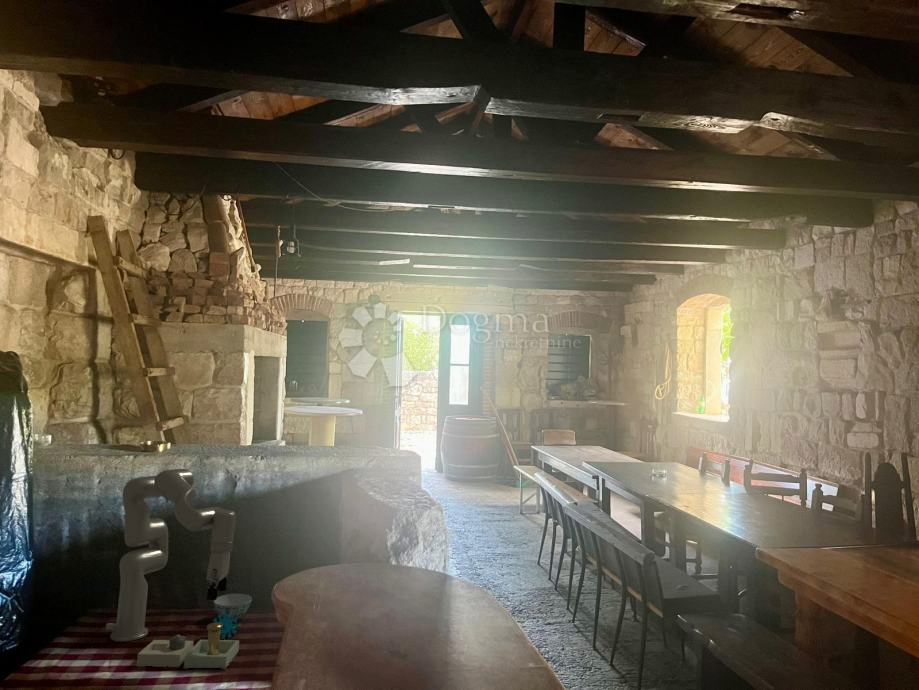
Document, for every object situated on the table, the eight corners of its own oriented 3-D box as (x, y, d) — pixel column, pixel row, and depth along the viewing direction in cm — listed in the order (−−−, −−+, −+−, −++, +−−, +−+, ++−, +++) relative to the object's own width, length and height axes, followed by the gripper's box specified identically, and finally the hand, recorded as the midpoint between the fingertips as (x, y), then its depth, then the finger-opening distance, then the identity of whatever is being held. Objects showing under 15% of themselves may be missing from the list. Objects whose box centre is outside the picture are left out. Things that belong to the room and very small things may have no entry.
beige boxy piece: (136, 666, 196) (139, 641, 197) (152, 651, 208) (155, 628, 209) (178, 667, 197) (181, 642, 198) (192, 652, 209) (194, 629, 210)
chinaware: (212, 614, 247) (213, 595, 248) (249, 610, 253) (250, 592, 253) (212, 626, 233) (214, 607, 234) (251, 623, 239) (253, 603, 240)
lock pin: (202, 660, 201) (204, 627, 202) (207, 654, 206) (210, 622, 207) (217, 661, 201) (219, 628, 203) (222, 654, 206) (224, 622, 208)
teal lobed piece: (209, 637, 218) (213, 611, 226) (206, 645, 221) (210, 619, 229) (239, 638, 223) (242, 612, 230) (236, 645, 226) (239, 620, 233)
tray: (183, 668, 196) (184, 656, 197) (199, 651, 210) (200, 639, 210) (225, 669, 197) (226, 656, 197) (238, 651, 211) (239, 640, 211)
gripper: (219, 539, 216) (214, 586, 214) (202, 551, 199) (196, 603, 197) (239, 540, 217) (235, 587, 215) (224, 552, 199) (218, 604, 198)
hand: (216, 595), depth 206 cm, fingers open, 9 cm apart
